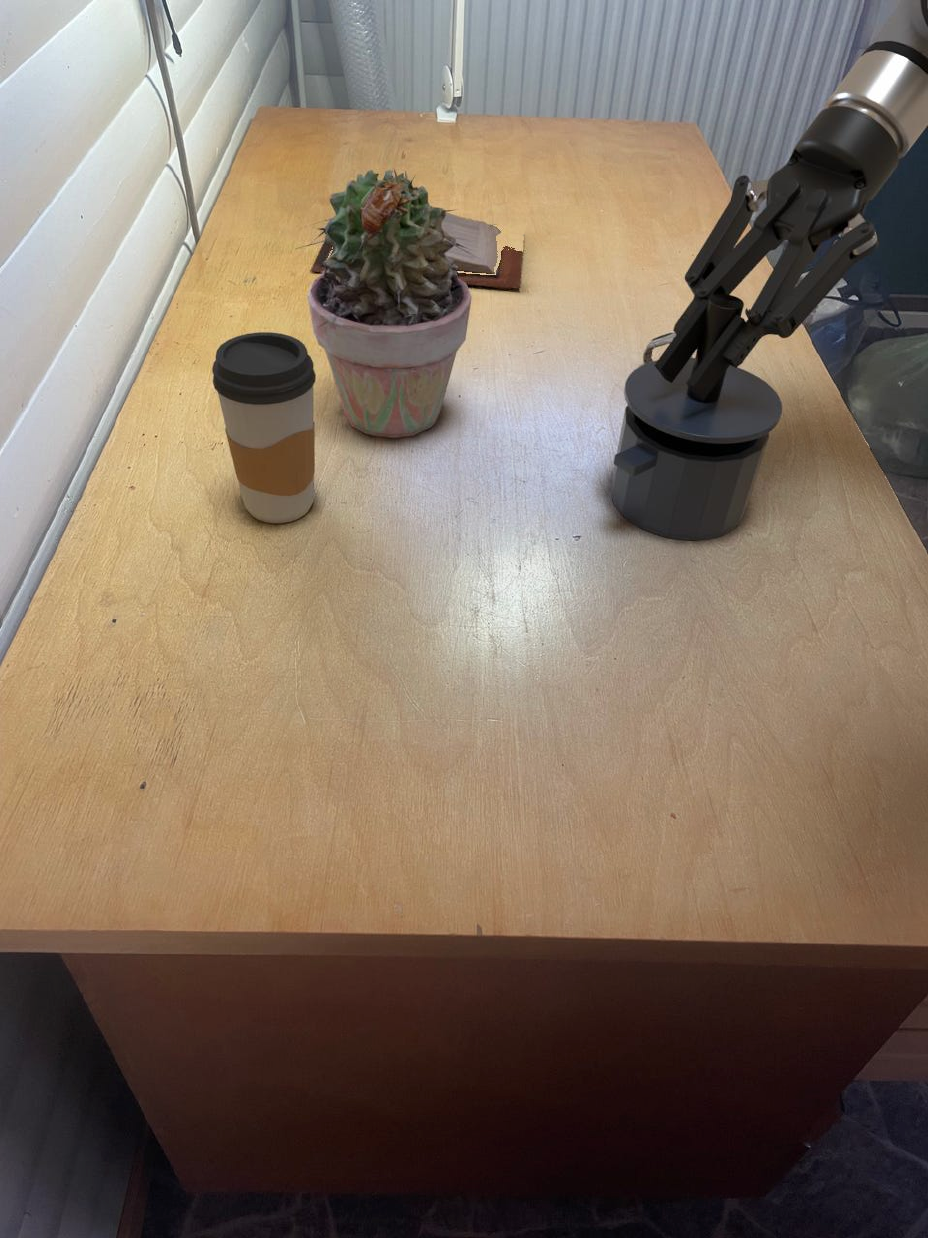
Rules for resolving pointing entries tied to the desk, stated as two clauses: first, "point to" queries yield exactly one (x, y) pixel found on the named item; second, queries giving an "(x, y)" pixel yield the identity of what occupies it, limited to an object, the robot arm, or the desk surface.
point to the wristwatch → (657, 345)
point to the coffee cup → (269, 422)
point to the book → (485, 250)
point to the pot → (682, 481)
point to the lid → (727, 411)
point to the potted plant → (389, 305)
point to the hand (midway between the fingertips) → (679, 382)
